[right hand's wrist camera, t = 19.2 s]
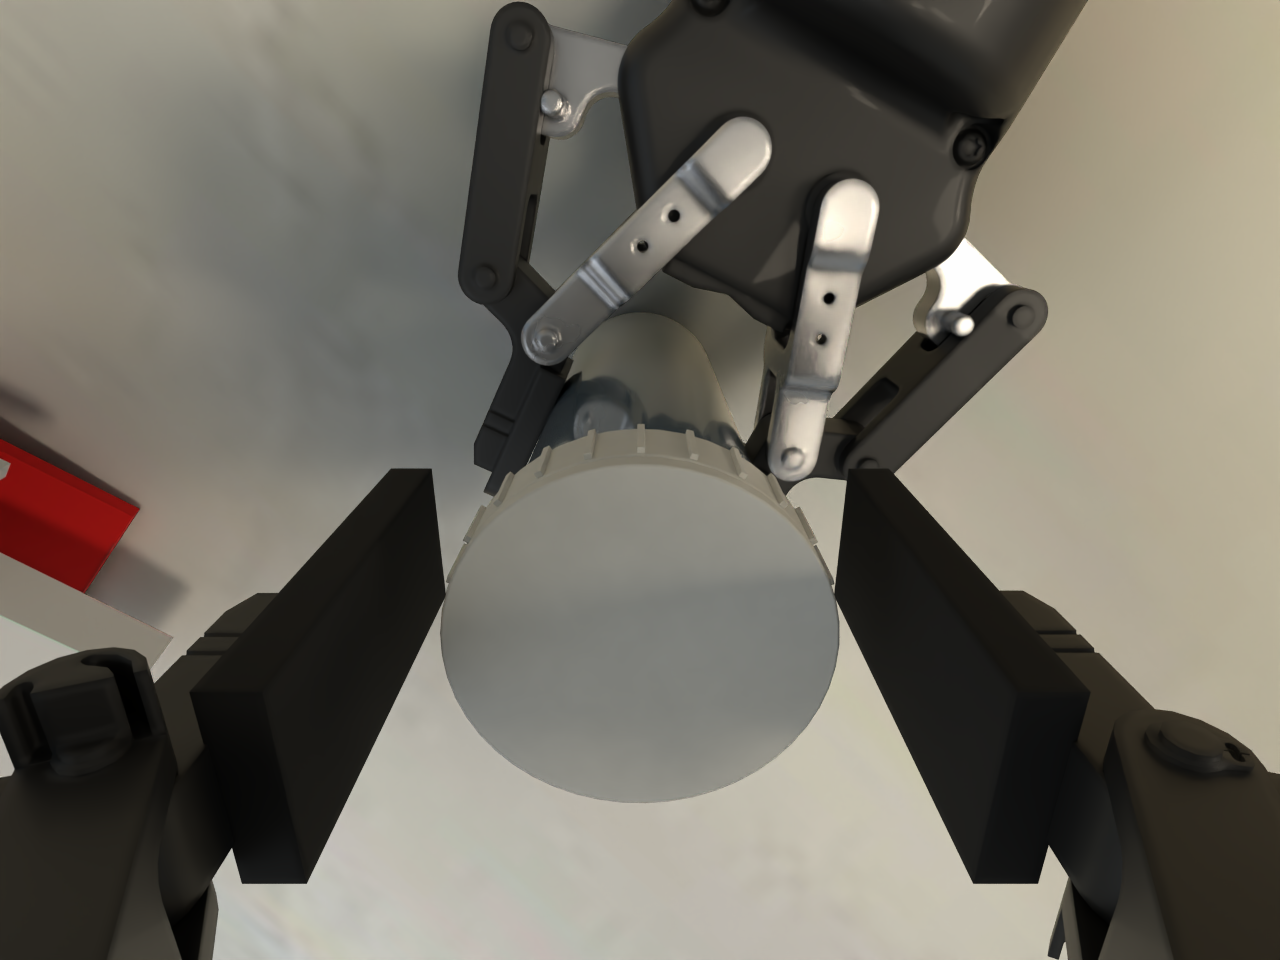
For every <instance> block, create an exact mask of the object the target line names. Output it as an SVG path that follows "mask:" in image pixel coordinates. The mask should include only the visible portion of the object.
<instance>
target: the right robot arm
mask: <svg viewBox="0 0 1280 960" xmlns="http://www.w3.org/2000/svg"><path fill="white" fill-rule="evenodd" d="M445 595H446V592H445V583H444V575H443V566H442V557H441V548H440V539H439V530H438V521H437V512H436V503H435V494H434V485H433V477H432V469H390V470H389V472H388V473H387V474H386V475H385V476H384V477H383V478H382V479H381V480H380V481H379V483H378V484H377V485H376V486H375V487H374V488H373V489H372V490H371V491H370V493H369V494H368V495H367V496H366V497H365V498H364V499H363V500H362V501H361V503H360V504H359V505H358V506H357V507H356V508H355V509H354V510H353V511H352V512H351V514H350V515H349V516H348V517H347V518H346V519H345V520H344V521H343V522H342V524H341V525H340V526H339V527H338V528H337V529H336V530H335V531H334V532H333V533H332V535H331V536H330V537H329V538H328V539H327V540H326V541H325V542H324V543H323V545H322V546H321V547H320V548H319V549H318V550H317V551H316V552H315V553H314V554H313V556H312V557H311V558H310V559H309V560H308V561H307V562H306V563H305V564H304V566H303V567H302V568H301V569H300V570H299V571H298V572H297V573H296V574H295V575H294V577H293V578H292V579H291V580H290V581H289V582H288V583H287V584H286V585H285V587H284V588H283V589H282V590H281V591H280V592H279V593H257V594H255V595H253V596H252V597H250V598H248V599H246V600H245V601H243V602H241V603H239V604H238V605H236V606H234V607H233V608H231V609H229V610H227V611H226V612H225V613H224V614H223V615H222V616H221V617H220V618H219V619H218V620H217V621H216V622H215V623H214V624H213V625H212V626H211V627H210V628H209V629H208V630H207V631H206V632H205V633H204V634H205V635H204V637H200V638H199V639H198V640H197V641H196V642H195V643H194V644H193V645H192V646H191V647H190V648H189V649H188V650H187V654H186V655H182V656H181V657H180V658H179V659H178V660H177V661H176V662H175V663H174V664H173V665H172V666H171V667H170V668H169V669H168V670H167V671H166V672H165V673H164V674H163V675H162V676H161V677H160V678H159V679H158V680H157V681H156V682H155V683H154V682H153V679H152V675H151V672H150V669H149V665H148V662H147V659H146V657H145V656H143V655H142V654H140V653H139V652H137V651H136V650H133V649H125V648H118V647H110V648H100V649H91V650H85V651H81V652H77V653H74V654H70V655H66V656H63V657H59V658H56V659H54V660H51V661H49V662H47V663H44V664H42V665H39V666H37V667H35V668H32V669H30V670H28V671H26V672H25V673H23V674H21V675H20V676H18V677H17V678H15V679H13V680H12V681H10V682H9V683H7V684H6V685H4V686H3V687H2V688H1V689H0V734H1V737H2V739H3V742H4V744H5V747H6V749H7V752H8V754H9V757H10V759H11V762H12V764H13V766H14V771H13V773H12V775H11V776H6V777H1V778H0V960H212V958H213V950H214V942H215V934H216V926H217V918H218V910H219V909H218V903H217V896H216V892H215V888H214V885H213V882H212V879H213V877H214V875H215V874H216V872H217V871H218V869H219V867H220V866H221V864H222V863H223V861H224V859H225V858H226V856H227V855H228V853H229V851H230V850H231V848H232V849H233V853H234V856H235V860H236V864H237V867H238V871H239V875H240V878H241V882H242V884H307V882H308V880H309V878H310V876H311V874H312V872H313V870H314V868H315V865H316V863H317V861H318V859H319V857H320V855H321V853H322V851H323V849H324V847H325V845H326V843H327V841H328V839H329V836H330V834H331V832H332V830H333V828H334V826H335V824H336V822H337V820H338V818H339V816H340V814H341V812H342V810H343V807H344V805H345V803H346V801H347V799H348V797H349V795H350V793H351V791H352V789H353V787H354V785H355V783H356V781H357V778H358V776H359V774H360V772H361V770H362V768H363V766H364V764H365V762H366V760H367V758H368V756H369V754H370V752H371V749H372V747H373V745H374V743H375V741H376V739H377V737H378V735H379V733H380V731H381V729H382V727H383V725H384V723H385V720H386V718H387V716H388V714H389V712H390V710H391V708H392V706H393V704H394V702H395V700H396V698H397V696H398V694H399V691H400V689H401V687H402V685H403V683H404V681H405V679H406V677H407V675H408V673H409V671H410V669H411V667H412V665H413V662H414V660H415V658H416V656H417V654H418V652H419V650H420V648H421V646H422V644H423V642H424V640H425V638H426V636H427V633H428V631H429V629H430V627H431V625H432V623H433V621H434V619H435V617H436V615H437V613H438V611H439V609H440V607H441V604H442V602H443V600H444V598H445ZM834 595H835V598H836V600H837V602H838V604H839V607H840V609H841V611H842V613H843V615H844V617H845V619H846V621H847V623H848V625H849V627H850V629H851V631H852V633H853V636H854V638H855V640H856V642H857V644H858V646H859V648H860V650H861V652H862V654H863V656H864V658H865V660H866V662H867V665H868V667H869V669H870V671H871V673H872V675H873V677H874V679H875V681H876V683H877V685H878V687H879V689H880V691H881V694H882V696H883V698H884V700H885V702H886V704H887V706H888V708H889V710H890V712H891V714H892V716H893V718H894V720H895V723H896V725H897V727H898V729H899V731H900V733H901V735H902V737H903V739H904V741H905V743H906V745H907V747H908V749H909V752H910V754H911V756H912V758H913V760H914V762H915V764H916V766H917V768H918V770H919V772H920V774H921V776H922V778H923V781H924V783H925V785H926V787H927V789H928V791H929V793H930V795H931V797H932V799H933V801H934V803H935V805H936V807H937V810H938V812H939V814H940V816H941V818H942V820H943V822H944V824H945V826H946V828H947V830H948V832H949V834H950V836H951V839H952V841H953V843H954V845H955V847H956V849H957V851H958V853H959V855H960V857H961V859H962V861H963V863H964V865H965V868H966V870H967V872H968V874H969V876H970V878H971V880H972V882H973V884H1038V882H1039V878H1040V875H1041V871H1042V867H1043V864H1044V860H1045V856H1046V853H1047V849H1048V846H1050V848H1051V849H1052V851H1053V852H1054V854H1055V855H1056V857H1057V859H1058V860H1059V862H1060V863H1061V865H1062V867H1063V868H1064V870H1065V871H1066V873H1067V875H1068V876H1069V878H1068V881H1067V885H1066V888H1065V892H1064V895H1063V898H1062V902H1061V905H1060V909H1059V912H1058V915H1057V919H1056V922H1055V925H1054V929H1053V932H1052V936H1051V939H1050V944H1049V950H1048V956H1049V957H1052V958H1055V959H1058V960H1059V957H1060V953H1061V950H1062V947H1063V944H1064V942H1066V947H1067V955H1068V960H1280V774H1276V773H1271V772H1267V770H1266V768H1265V767H1264V766H1263V764H1262V763H1261V762H1260V761H1259V759H1258V758H1257V757H1256V756H1255V754H1254V753H1253V752H1252V751H1251V750H1250V749H1249V748H1247V747H1246V746H1244V745H1243V744H1242V743H1240V742H1239V741H1238V740H1236V739H1235V738H1234V737H1232V736H1231V735H1229V734H1228V733H1226V732H1224V731H1222V730H1220V729H1218V728H1216V727H1214V726H1212V725H1210V724H1208V723H1206V722H1204V721H1201V720H1199V719H1195V718H1192V717H1189V716H1186V715H1182V714H1179V713H1176V712H1173V711H1165V710H1157V709H1154V708H1153V707H1152V706H1151V705H1150V704H1149V703H1148V702H1147V701H1146V700H1145V699H1144V698H1143V697H1142V696H1141V695H1140V694H1139V693H1138V692H1137V691H1136V690H1135V689H1134V688H1133V687H1132V686H1131V685H1130V684H1129V683H1128V682H1127V681H1126V680H1125V679H1124V678H1123V677H1122V676H1121V675H1120V674H1119V673H1118V672H1117V671H1116V670H1115V669H1114V668H1113V667H1112V666H1111V665H1110V664H1109V663H1108V662H1107V661H1106V660H1105V659H1104V658H1103V657H1102V656H1101V655H1100V654H1099V653H1095V652H1094V648H1093V647H1092V646H1091V645H1090V644H1089V643H1088V642H1087V641H1086V640H1085V639H1084V638H1083V637H1082V636H1081V635H1077V634H1076V630H1075V629H1074V628H1073V627H1072V626H1071V625H1070V624H1069V623H1068V622H1067V621H1066V620H1065V619H1064V618H1063V617H1062V616H1061V615H1060V614H1059V613H1058V612H1057V611H1056V610H1055V609H1054V608H1052V607H1051V606H1049V605H1047V604H1045V603H1044V602H1042V601H1040V600H1038V599H1037V598H1035V597H1033V596H1031V595H1030V594H1028V593H1026V592H1024V591H999V590H998V589H997V588H996V587H995V585H994V584H993V583H992V582H991V581H990V580H989V579H988V578H987V577H986V575H985V574H984V573H983V572H982V571H981V570H980V569H979V568H978V567H977V566H976V564H975V563H974V562H973V561H972V560H971V559H970V558H969V557H968V556H967V554H966V553H965V552H964V551H963V550H962V549H961V548H960V547H959V546H958V545H957V543H956V542H955V541H954V540H953V539H952V538H951V537H950V536H949V535H948V533H947V532H946V531H945V530H944V529H943V528H942V527H941V526H940V525H939V524H938V522H937V521H936V520H935V519H934V518H933V517H932V516H931V515H930V514H929V512H928V511H927V510H926V509H925V508H924V507H923V506H922V505H921V504H920V503H919V501H918V500H917V499H916V498H915V497H914V496H913V495H912V494H911V493H910V491H909V490H908V489H907V488H906V487H905V486H904V485H903V484H902V483H901V481H900V480H899V479H898V478H897V477H896V476H895V475H894V474H893V473H892V472H891V470H890V469H848V477H847V485H846V494H845V503H844V512H843V521H842V530H841V539H840V548H839V557H838V566H837V575H836V583H835V592H834Z"/></svg>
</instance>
